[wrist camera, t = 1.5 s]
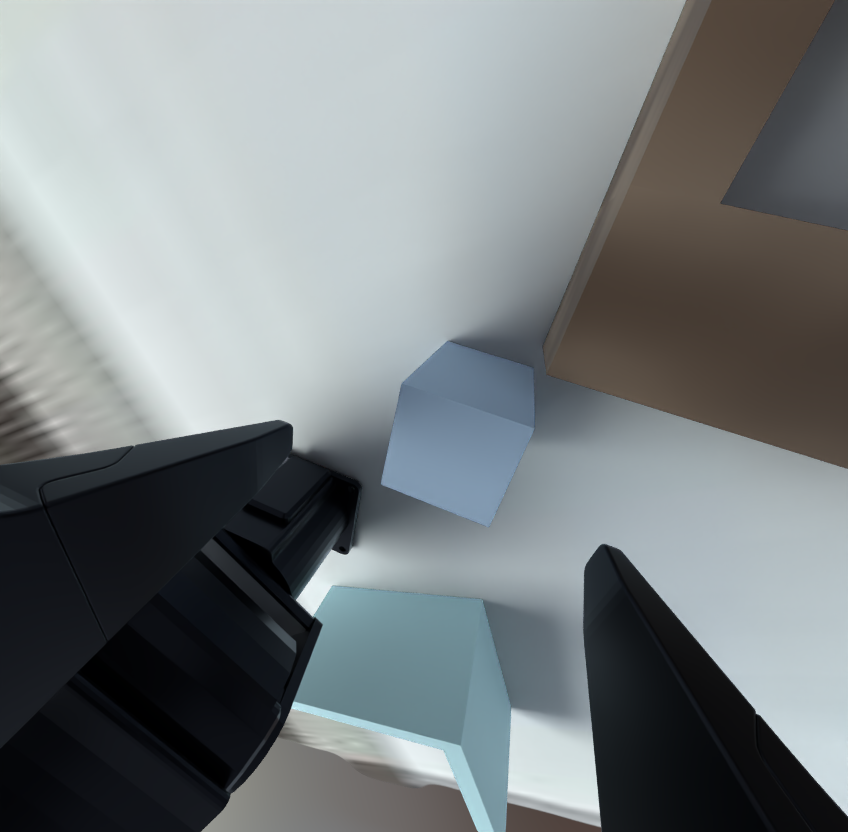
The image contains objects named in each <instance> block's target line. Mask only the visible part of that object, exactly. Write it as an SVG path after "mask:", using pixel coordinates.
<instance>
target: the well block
mask: <svg viewBox="0 0 848 832" xmlns="http://www.w3.org/2000/svg"><path fill="white" fill-rule="evenodd" d="M834 1H835V0H687V1H686V3H685V5H684V8H683V10H682V13H681V15H680V17H679V20H678V22H677V25H676V27H675V29H674V32H673V34H672V37H671V39H670V41H669V44H668V46H667V49H666V51H665V53H664V56H663V58H662V61H661V63H660V65H659V68H658V70H657V73H656V75H655V78H654V80H653V82H652V85H651V87H650V90H649V92H648V94H647V97H646V99H645V102H644V104H643V106H642V109H641V111H640V114H639V116H638V118H637V121H636V123H635V126H634V128H633V130H632V133H631V135H630V138H629V140H628V142H627V145H626V147H625V150H624V152H623V154H622V157H621V159H620V162H619V164H618V166H617V169H616V171H615V174H614V176H613V178H612V181H611V183H610V186H609V188H608V191H607V193H606V195H605V198H604V200H603V203H602V205H601V207H600V210H599V212H598V215H597V217H596V219H595V222H594V224H593V227H592V229H591V231H590V234H589V236H588V239H587V241H586V243H585V246H584V248H583V251H582V253H581V255H580V258H579V260H578V263H577V265H576V267H575V270H574V272H573V275H572V277H571V279H570V282H569V284H568V287H567V289H566V292H565V294H564V296H563V299H562V301H561V304H560V306H559V308H558V311H557V313H556V316H555V318H554V320H553V323H552V325H551V328H550V330H549V332H548V335H547V337H546V340H545V342H544V344H543V352H544V360H545V367H546V375H549V376H552V377H555V378H558V379H562V380H565V381H568V382H571V383H574V384H578V385H581V386H584V387H587V388H590V389H594V390H597V391H600V392H603V393H606V394H610V395H613V396H616V397H619V398H623V399H626V400H629V401H632V402H635V403H639V404H642V405H645V406H648V407H651V408H655V409H658V410H661V411H664V412H667V413H671V414H674V415H677V416H680V417H683V418H687V419H690V420H693V421H696V422H699V423H703V424H706V425H709V426H712V427H715V428H719V429H722V430H725V431H728V432H731V433H735V434H738V435H741V436H744V437H748V438H751V439H754V440H757V441H760V442H764V443H767V444H770V445H773V446H776V447H780V448H783V449H786V450H789V451H792V452H796V453H799V454H802V455H805V456H808V457H812V458H815V459H818V460H821V461H824V462H828V463H831V464H834V465H837V466H840V467H844V468H847V469H848V231H847V230H843V229H838V228H833V227H828V226H824V225H819V224H814V223H809V222H805V221H800V220H795V219H790V218H786V217H781V216H776V215H771V214H767V213H762V212H757V211H753V210H748V209H743V208H738V207H734V206H729V205H724V204H720V203H721V201H722V199H723V197H724V196H725V194H726V192H727V190H728V188H729V187H730V185H731V183H732V181H733V180H734V178H735V176H736V174H737V173H738V171H739V169H740V167H741V165H742V164H743V162H744V160H745V158H746V157H747V155H748V153H749V151H750V150H751V148H752V146H753V144H754V142H755V141H756V139H757V137H758V135H759V134H760V132H761V130H762V128H763V127H764V125H765V123H766V121H767V120H768V118H769V116H770V114H771V112H772V111H773V109H774V107H775V105H776V104H777V102H778V100H779V98H780V97H781V95H782V93H783V91H784V89H785V88H786V86H787V84H788V82H789V81H790V79H791V77H792V75H793V74H794V72H795V70H796V68H797V67H798V65H799V63H800V61H801V59H802V58H803V56H804V54H805V52H806V51H807V49H808V47H809V45H810V44H811V42H812V40H813V38H814V36H815V35H816V33H817V31H818V29H819V28H820V26H821V24H822V22H823V21H824V19H825V17H826V15H827V13H828V12H829V10H830V8H831V6H832V5H833V3H834Z"/></svg>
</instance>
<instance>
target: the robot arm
mask: <svg viewBox="0 0 848 832" xmlns="http://www.w3.org/2000/svg"><path fill="white" fill-rule="evenodd" d="M292 444H293V427H292V425H291V424H289V423H287V422H284V421H281V420H275V421H269V422H263V423H258V424H252V425H246V426H241V427H235V428H229V429H223V430H218V431H212V432H206V433H201V434H195V435H189V436H184V437H178V438H172V439H167V440H161V441H155V442H150V443H144V444H138V445H135V446H126V447H121V448H115V449H109V450H103V451H97V452H91V453H85V454H78V455H70V456H63V457H56V458H49V459H41V460H34V461H26V462H18V463H11V464H3V465H0V832H201V831H202V830H203V829H204V828H205V827H206V826H207V825H208V824H209V823H210V822H211V821H212V820H213V819H214V818H215V817H216V816H217V815H218V814H219V813H220V812H221V811H222V810H223V809H224V808H225V806H226V804H227V803H228V801H229V799H230V794H231V793H233V792H234V791H235V790H236V789H237V788H239V787H240V786H241V785H242V784H243V783H244V782H245V781H246V780H247V779H248V777H249V776H250V775H251V774H252V773H253V772H254V771H255V769H256V768H257V767H258V765H259V764H260V763H261V761H262V760H263V759H264V757H265V756H266V755H267V753H268V751H269V750H270V748H271V747H272V745H273V743H274V742H275V740H276V739H277V737H278V735H279V733H280V731H281V729H282V727H283V726H284V723H285V721H286V719H287V717H288V714H289V712H290V710H291V707H292V704H293V702H294V699H295V697H296V694H297V691H298V689H299V686H300V683H301V681H302V678H303V676H304V673H305V670H306V668H307V665H308V663H309V660H310V657H311V655H312V652H313V650H314V647H315V644H316V642H317V639H318V637H319V634H320V631H321V629H322V626H323V624H322V623H321V622H320V621H319V620H318V619H317V618H316V617H312V616H311V615H310V614H309V613H308V612H307V611H306V610H305V609H304V608H303V607H302V606H301V605H300V604H299V603H298V602H297V601H296V599H297V598H298V596H299V595H300V593H301V592H302V591H303V589H304V588H305V586H306V585H307V583H308V582H309V581H310V579H311V578H312V576H313V575H314V573H315V572H316V571H317V569H318V568H319V566H320V565H321V563H322V562H323V561H324V559H325V558H326V556H327V555H328V553H329V552H330V551H331V549H332V550H334V551H337V552H339V553H341V554H344V555H345V554H348V553H349V551H350V550H351V548H352V543H353V537H354V531H355V526H356V520H357V514H358V508H359V502H360V497H361V491H362V486H361V484H360V483H359V482H358V481H357V480H355V479H352V478H350V477H347V476H345V475H342V474H340V473H337V472H335V471H332V470H330V469H327V468H325V467H322V466H320V465H317V464H315V463H312V462H310V461H307V460H305V459H302V458H300V457H297V456H295V455H292V454H290V453H291V450H292ZM352 487H353V488H354V489H353V488H352ZM583 633H584V646H585V657H586V668H587V679H588V689H589V700H590V711H591V721H592V732H593V743H594V754H595V764H596V775H597V786H598V797H599V807H600V818H601V829H602V832H848V816H847V815H846V814H845V813H844V812H843V811H842V810H841V808H840V807H839V806H838V805H837V804H836V803H835V802H834V801H833V800H832V798H831V797H830V796H829V795H828V794H827V793H826V792H825V791H824V789H823V788H822V787H821V786H820V785H819V784H818V783H817V782H816V781H815V779H814V778H813V777H812V776H811V775H810V774H809V772H808V771H807V770H806V769H805V768H804V767H803V765H802V764H801V763H800V762H799V761H798V760H797V758H796V757H795V756H794V755H793V754H792V753H791V751H790V750H789V749H788V748H787V747H786V746H785V745H784V743H783V742H782V741H781V740H780V739H779V737H778V736H777V735H776V734H775V733H774V732H773V730H772V729H771V728H770V727H769V726H768V724H767V723H766V722H765V721H764V720H763V718H762V717H761V716H760V715H758V714H756V711H755V709H754V708H753V707H752V705H751V704H750V703H749V702H748V701H747V700H746V698H745V697H744V696H743V695H742V694H741V692H740V691H739V690H738V689H737V688H736V686H735V685H734V684H733V683H732V682H731V681H730V679H729V678H728V677H727V676H726V675H725V673H724V672H723V671H722V670H721V669H720V667H719V666H718V665H717V664H716V663H715V662H714V660H713V659H712V658H711V657H710V656H709V654H708V653H707V652H706V651H705V650H704V649H703V647H702V646H701V645H700V644H699V643H698V641H697V640H696V639H695V638H694V637H693V635H692V634H691V633H690V632H689V631H688V630H687V628H686V627H685V626H684V625H683V624H682V622H681V621H680V620H679V619H678V618H677V616H676V615H675V614H674V613H673V612H672V611H671V609H670V608H669V607H668V606H667V605H666V603H665V602H664V601H663V600H662V599H661V597H660V596H659V595H658V594H657V593H656V592H655V590H654V589H653V588H652V587H651V586H650V584H649V583H648V582H647V581H646V580H645V578H644V577H643V576H642V575H641V574H640V573H639V571H638V570H637V569H636V568H635V567H634V565H633V564H632V563H631V562H630V561H629V559H628V558H627V557H626V556H625V555H624V554H623V552H622V551H621V550H619V549H617V548H615V547H612V546H609V545H607V544H602V545H600V546H599V547H598V549H597V550H596V551H595V553H594V554H593V555H592V557H591V558H590V560H589V561H588V562H587V564H586V566H585V570H584V611H583Z"/></svg>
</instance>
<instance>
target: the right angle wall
mask: <svg viewBox="0 0 848 832" xmlns="http://www.w3.org/2000/svg"><path fill="white" fill-rule="evenodd" d="M313 617H316V618H317V619H318V620H319V621H320V622H321V623H322V624H323V626H322V629H321V631H320V634H319V637H318V639H317V642H316V644H315V647H314V650H313V652H312V655H311V657H310V660H309V663H308V665H307V668H306V670H305V673H304V676H303V678H302V681H301V683H300V686H299V689H298V691H297V694H296V697H295V699H294V702H293V704H292V707H291V708H292V709H296V710H300V711H303V712H307V713H310V714H314V715H318V716H321V717H325V718H329V719H332V720H336V721H339V722H343V723H347V724H350V725H354V726H357V727H361V728H365V729H368V730H372V731H376V732H379V733H383V734H386V735H390V736H394V737H397V738H401V739H405V740H408V741H412V742H415V743H419V744H423V745H426V746H430V747H434V748H437V749H441V750H444V753H445V755H446V757H447V760H448V762H449V764H450V767H451V769H452V772H453V774H454V776H455V779H456V781H457V783H458V786H459V788H460V790H461V793H462V795H463V797H464V800H465V802H466V805H467V807H468V809H469V812H470V814H471V816H472V819H473V821H474V823H475V826H476V828H477V831H478V832H506V810H507V789H508V767H509V746H510V724H511V704H510V701H509V697H508V693H507V690H506V686H505V682H504V678H503V675H502V671H501V667H500V663H499V660H498V656H497V652H496V648H495V645H494V641H493V637H492V633H491V630H490V626H489V622H488V618H487V615H486V611H485V607H484V603H483V600H482V599H474V598H463V597H452V596H441V595H430V594H419V593H408V592H397V591H386V590H375V589H364V588H353V587H342V586H332V587H331V589H330V590H329V592H328V593H327V595H326V597H325V598H324V600H323V602H322V603H321V605H320V606H319V608H318V610H317V611H316V613H315V614H314V616H313Z"/></svg>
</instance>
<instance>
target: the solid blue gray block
mask: <svg viewBox="0 0 848 832" xmlns="http://www.w3.org/2000/svg"><path fill="white" fill-rule="evenodd" d="M534 429H535V412H534V368H533V367H530V366H526V365H523V364H520V363H517V362H513V361H510V360H507V359H504V358H501V357H497V356H494V355H491V354H488V353H485V352H481V351H478V350H475V349H472V348H468V347H465V346H462V345H459V344H456V343H452V342H449V341H447V342H446V343H445V344H444V345H443V346H441V347H440V348H439V349H438V350H437V351H436V352H435V353H434V354H433V355H432V356H431V357H430V358H429V359H427V360H426V361H425V362H424V363H423V364H422V365H421V366H420V367H419V368H418V369H417V370H416V371H414V372H413V373H412V374H411V375H410V376H409V377H408V378H407V379H406V380H405V381H404V382H403V383H402V385H401V389H400V394H399V399H398V404H397V409H396V413H395V418H394V423H393V428H392V432H391V437H390V442H389V447H388V452H387V456H386V461H385V466H384V471H383V476H382V480H381V485H383V486H386V487H388V488H391V489H393V490H396V491H398V492H401V493H403V494H406V495H408V496H411V497H413V498H416V499H419V500H421V501H424V502H426V503H429V504H431V505H434V506H436V507H439V508H441V509H444V510H446V511H449V512H451V513H454V514H456V515H459V516H461V517H464V518H466V519H469V520H471V521H474V522H476V523H479V524H481V525H484V526H487V527H489V526H490V524H491V522H492V520H493V518H494V516H495V514H496V511H497V509H498V507H499V505H500V503H501V501H502V498H503V496H504V494H505V492H506V490H507V488H508V485H509V483H510V481H511V479H512V477H513V475H514V472H515V470H516V468H517V466H518V464H519V462H520V459H521V457H522V455H523V453H524V451H525V449H526V446H527V444H528V442H529V440H530V438H531V436H532V433H533V431H534Z"/></svg>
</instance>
